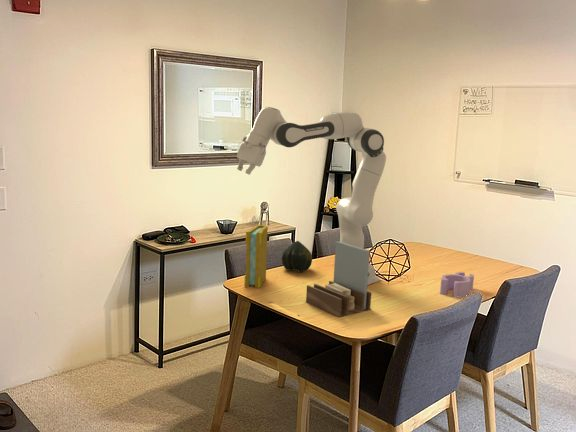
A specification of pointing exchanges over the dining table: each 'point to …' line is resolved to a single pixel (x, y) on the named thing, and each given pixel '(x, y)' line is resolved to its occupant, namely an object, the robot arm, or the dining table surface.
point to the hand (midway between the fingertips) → (243, 172)
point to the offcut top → (339, 289)
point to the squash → (297, 257)
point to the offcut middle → (351, 299)
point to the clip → (457, 284)
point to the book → (256, 255)
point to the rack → (336, 300)
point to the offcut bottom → (351, 306)
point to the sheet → (351, 267)
